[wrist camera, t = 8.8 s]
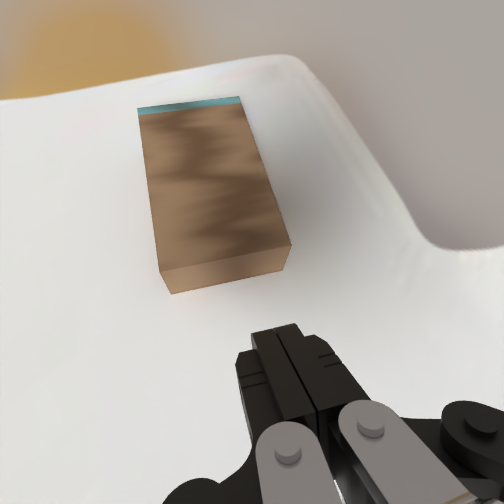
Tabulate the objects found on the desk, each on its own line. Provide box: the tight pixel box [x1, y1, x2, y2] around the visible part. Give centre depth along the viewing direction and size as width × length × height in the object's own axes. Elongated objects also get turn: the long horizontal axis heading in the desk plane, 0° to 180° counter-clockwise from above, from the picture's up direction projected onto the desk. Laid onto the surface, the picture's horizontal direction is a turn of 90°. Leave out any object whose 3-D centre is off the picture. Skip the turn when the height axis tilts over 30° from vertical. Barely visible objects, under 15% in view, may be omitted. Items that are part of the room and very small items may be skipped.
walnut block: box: [137, 96, 292, 295], centre depth 23 cm, size 8×4×14 cm
